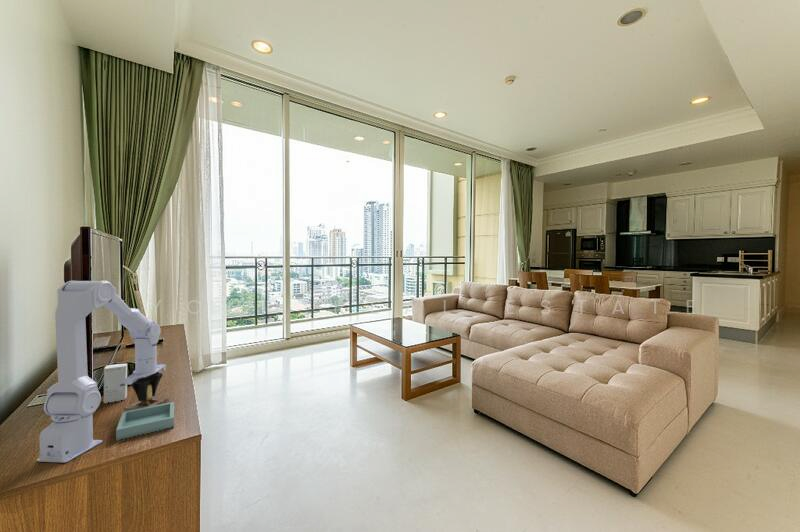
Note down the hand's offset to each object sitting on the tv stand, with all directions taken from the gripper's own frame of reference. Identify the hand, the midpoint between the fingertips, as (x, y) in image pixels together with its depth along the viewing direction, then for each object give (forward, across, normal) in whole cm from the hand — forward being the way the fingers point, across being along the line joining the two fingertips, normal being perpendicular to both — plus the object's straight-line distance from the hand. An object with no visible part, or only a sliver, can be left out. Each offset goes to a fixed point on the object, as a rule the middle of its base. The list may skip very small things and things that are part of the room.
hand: (146, 398), depth 112 cm
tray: (+3, +11, +10) cm, 15 cm away
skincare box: (+3, -5, -16) cm, 17 cm away
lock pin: (+2, 0, 0) cm, 2 cm away
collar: (+3, 0, 0) cm, 3 cm away
